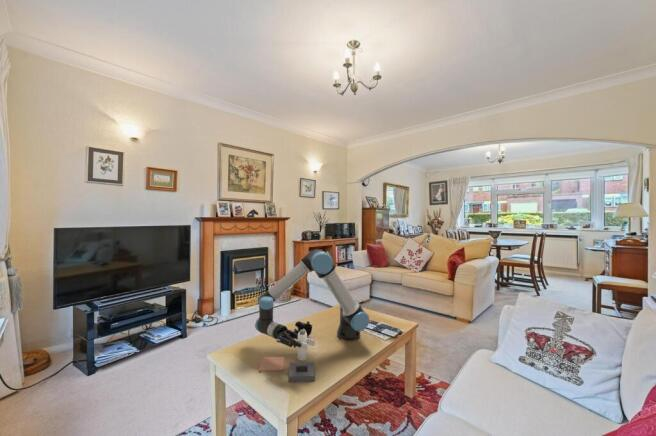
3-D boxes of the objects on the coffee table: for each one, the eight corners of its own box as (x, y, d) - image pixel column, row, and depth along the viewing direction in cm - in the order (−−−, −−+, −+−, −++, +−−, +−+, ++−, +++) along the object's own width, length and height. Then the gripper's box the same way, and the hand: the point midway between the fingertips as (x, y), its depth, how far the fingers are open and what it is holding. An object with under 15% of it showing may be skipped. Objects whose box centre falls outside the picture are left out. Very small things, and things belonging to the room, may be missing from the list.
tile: (284, 358, 150) (284, 356, 150) (283, 371, 138) (283, 369, 138) (262, 359, 148) (262, 357, 148) (258, 372, 136) (259, 370, 136)
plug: (306, 355, 137) (306, 328, 137) (306, 360, 133) (307, 332, 132) (297, 355, 136) (297, 328, 136) (297, 360, 132) (297, 332, 132)
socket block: (313, 367, 141) (313, 362, 141) (314, 382, 129) (314, 375, 129) (289, 368, 140) (289, 362, 140) (288, 383, 128) (289, 376, 128)
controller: (309, 339, 173) (309, 323, 172) (293, 334, 179) (294, 319, 179) (313, 337, 176) (313, 321, 176) (298, 332, 183) (298, 317, 183)
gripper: (289, 333, 152) (322, 346, 138) (264, 344, 139) (297, 360, 124) (289, 319, 152) (322, 331, 138) (264, 329, 139) (297, 343, 124)
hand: (310, 345), depth 131 cm, fingers closed on plug, 4 cm apart
